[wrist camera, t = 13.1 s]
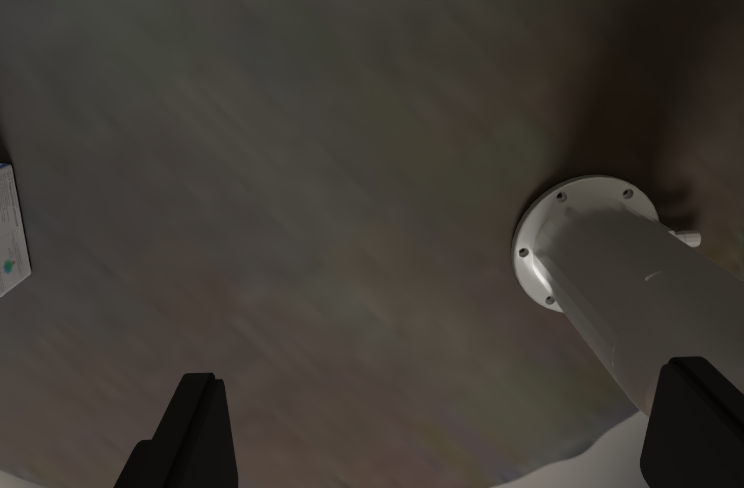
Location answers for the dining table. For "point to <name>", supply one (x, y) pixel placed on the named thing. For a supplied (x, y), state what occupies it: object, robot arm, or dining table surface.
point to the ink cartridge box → (11, 234)
